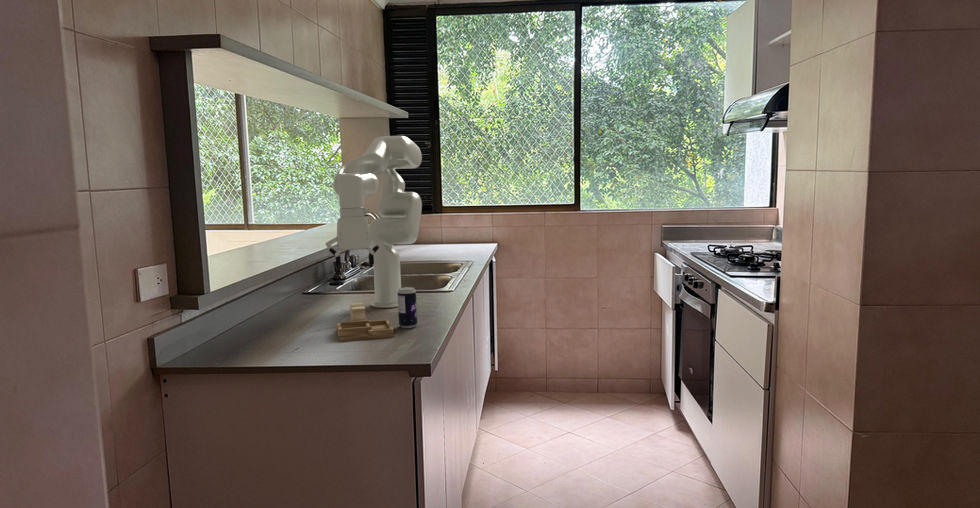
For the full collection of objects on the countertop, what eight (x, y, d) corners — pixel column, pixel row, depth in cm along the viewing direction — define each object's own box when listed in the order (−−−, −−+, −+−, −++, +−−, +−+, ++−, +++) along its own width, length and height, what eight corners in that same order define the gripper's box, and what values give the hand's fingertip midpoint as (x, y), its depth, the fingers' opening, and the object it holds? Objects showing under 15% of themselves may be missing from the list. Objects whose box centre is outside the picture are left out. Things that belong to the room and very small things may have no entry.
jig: (336, 330, 199) (336, 321, 198) (387, 326, 203) (387, 316, 202) (339, 341, 185) (338, 331, 185) (393, 336, 189) (393, 326, 189)
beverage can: (414, 328, 198) (412, 290, 197) (396, 328, 199) (394, 290, 198) (419, 324, 204) (418, 286, 202) (402, 324, 205) (400, 286, 203)
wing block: (350, 321, 211) (349, 303, 211) (363, 320, 213) (362, 302, 212) (353, 328, 202) (352, 309, 201) (366, 327, 203) (365, 308, 202)
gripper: (378, 211, 209) (381, 264, 211) (323, 214, 204) (326, 268, 206) (381, 213, 201) (384, 267, 204) (324, 215, 197) (327, 271, 199)
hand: (355, 267), depth 205 cm, fingers open, 9 cm apart
